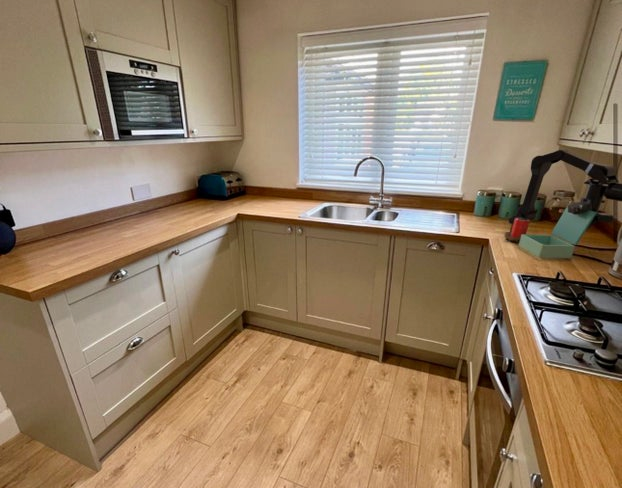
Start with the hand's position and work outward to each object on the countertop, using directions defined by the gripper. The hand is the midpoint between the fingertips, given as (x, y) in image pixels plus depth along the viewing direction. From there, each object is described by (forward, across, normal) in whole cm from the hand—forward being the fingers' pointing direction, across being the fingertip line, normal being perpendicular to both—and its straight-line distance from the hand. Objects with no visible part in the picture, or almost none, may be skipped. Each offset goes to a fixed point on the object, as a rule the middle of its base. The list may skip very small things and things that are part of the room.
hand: (581, 232), depth 142 cm
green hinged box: (+10, 0, -14) cm, 17 cm away
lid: (-4, 0, -6) cm, 7 cm away
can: (+6, -14, -18) cm, 24 cm away
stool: (+10, -14, -19) cm, 26 cm away
